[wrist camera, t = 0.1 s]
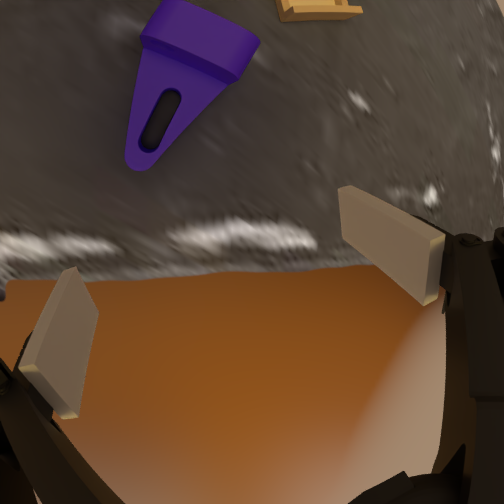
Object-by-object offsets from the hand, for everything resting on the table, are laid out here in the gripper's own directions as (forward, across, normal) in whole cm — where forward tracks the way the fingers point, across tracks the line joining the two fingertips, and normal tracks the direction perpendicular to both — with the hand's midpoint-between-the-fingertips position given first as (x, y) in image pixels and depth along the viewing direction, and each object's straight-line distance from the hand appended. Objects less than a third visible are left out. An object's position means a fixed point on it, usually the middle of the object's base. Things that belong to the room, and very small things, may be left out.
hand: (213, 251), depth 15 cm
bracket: (+28, 0, +8) cm, 29 cm away
